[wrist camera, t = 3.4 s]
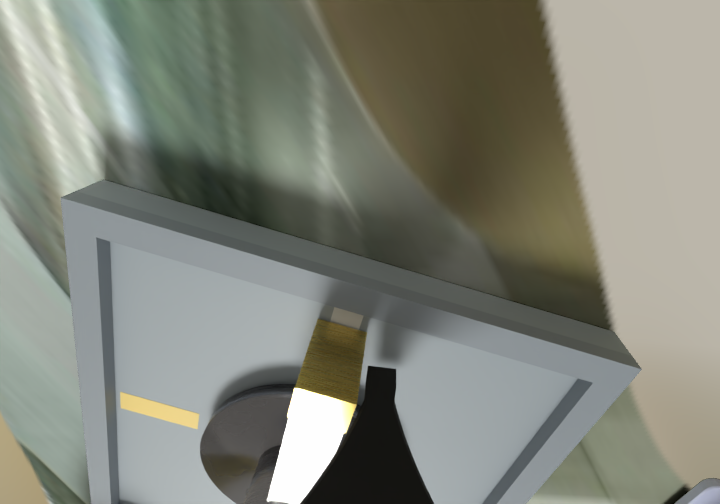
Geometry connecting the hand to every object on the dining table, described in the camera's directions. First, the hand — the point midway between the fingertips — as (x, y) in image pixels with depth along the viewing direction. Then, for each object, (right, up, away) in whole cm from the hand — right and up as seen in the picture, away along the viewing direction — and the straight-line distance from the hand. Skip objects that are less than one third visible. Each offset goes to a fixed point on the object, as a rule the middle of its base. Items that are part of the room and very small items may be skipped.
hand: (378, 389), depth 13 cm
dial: (-3, -3, +3) cm, 5 cm away
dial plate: (-3, -3, +5) cm, 6 cm away
